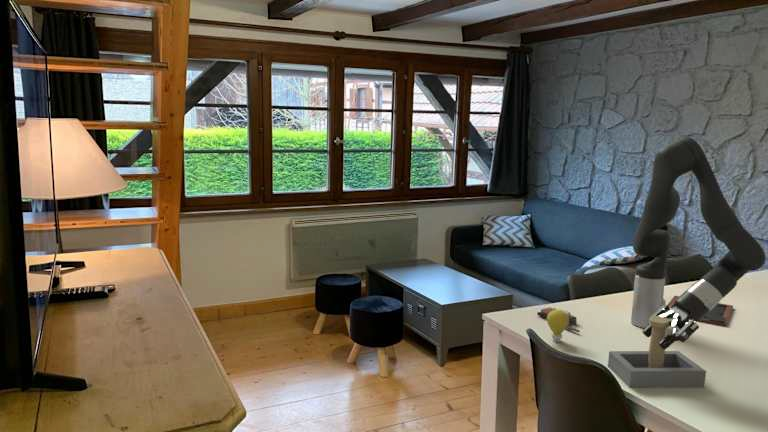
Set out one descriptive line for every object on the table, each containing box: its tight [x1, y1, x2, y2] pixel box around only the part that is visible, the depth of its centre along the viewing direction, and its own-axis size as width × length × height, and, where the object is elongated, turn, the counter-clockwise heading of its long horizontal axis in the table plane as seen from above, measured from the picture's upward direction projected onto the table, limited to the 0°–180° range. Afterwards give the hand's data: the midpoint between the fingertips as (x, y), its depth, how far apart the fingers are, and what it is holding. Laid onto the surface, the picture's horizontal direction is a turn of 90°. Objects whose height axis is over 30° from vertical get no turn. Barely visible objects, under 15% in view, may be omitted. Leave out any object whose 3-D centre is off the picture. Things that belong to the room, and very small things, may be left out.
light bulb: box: [546, 309, 569, 343], centre depth 177 cm, size 7×7×10 cm
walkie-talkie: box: [536, 307, 580, 334], centre depth 193 cm, size 9×4×20 cm
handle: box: [648, 316, 670, 368], centre depth 152 cm, size 5×6×15 cm
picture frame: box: [667, 295, 734, 328], centre depth 208 cm, size 20×2×25 cm
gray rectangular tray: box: [607, 350, 707, 388], centre depth 153 cm, size 20×13×4 cm, turn 92°
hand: (652, 340), depth 152 cm, fingers open, 8 cm apart
